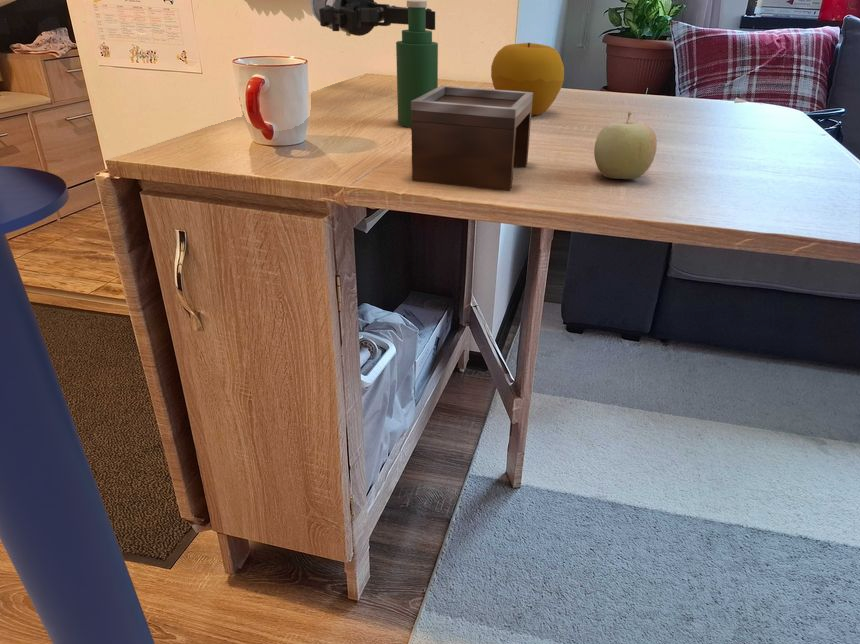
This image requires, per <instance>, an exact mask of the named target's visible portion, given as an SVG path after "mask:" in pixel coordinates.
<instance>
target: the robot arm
mask: <svg viewBox="0 0 860 644" xmlns="http://www.w3.org/2000/svg"><path fill="white" fill-rule="evenodd" d="M15 1H16V0H0V7H3V6H6V5H8V4H11V3H12V2H15ZM310 6H311V11H312V14H313V15H314V18H315V19H316V21H318V22H319V25H320V26H321V27H322V28H325V27H326V28H329V29H330V30H331V31H332V32H340V31H341V32H344V33H345V36H347V37H350V36H352V35H353V36H358V37H362V36H364V35H365V36H366V35H367V34H369V33H370V32H371V31H373V29H374V28H376V27H389V26H391V24H395V25H407V26H408V7H407V6H405V7H404V6H396V5H390V4H387V3H378V2H376V1H375V0H311V1H310ZM425 11H426V30H429V31H436V11H433V9H431V8H429V7H428V8H427V7H426V8H425Z"/></svg>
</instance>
